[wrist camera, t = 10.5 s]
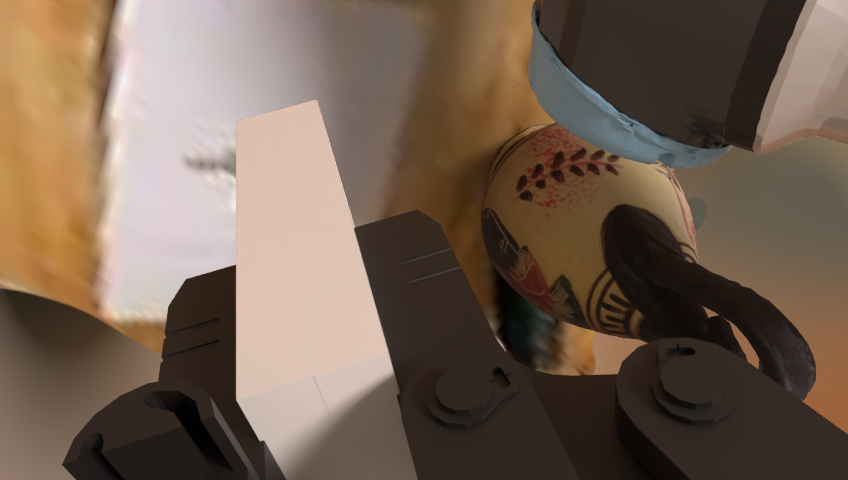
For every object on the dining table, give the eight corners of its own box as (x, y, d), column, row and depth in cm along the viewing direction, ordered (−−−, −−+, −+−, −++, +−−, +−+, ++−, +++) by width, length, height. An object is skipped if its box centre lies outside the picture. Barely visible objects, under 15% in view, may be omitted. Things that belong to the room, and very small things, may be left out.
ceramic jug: (611, 221, 61) (848, 481, 38) (464, 257, 59) (617, 556, 36) (625, 56, 51) (963, 269, 27) (449, 93, 49) (649, 358, 25)
